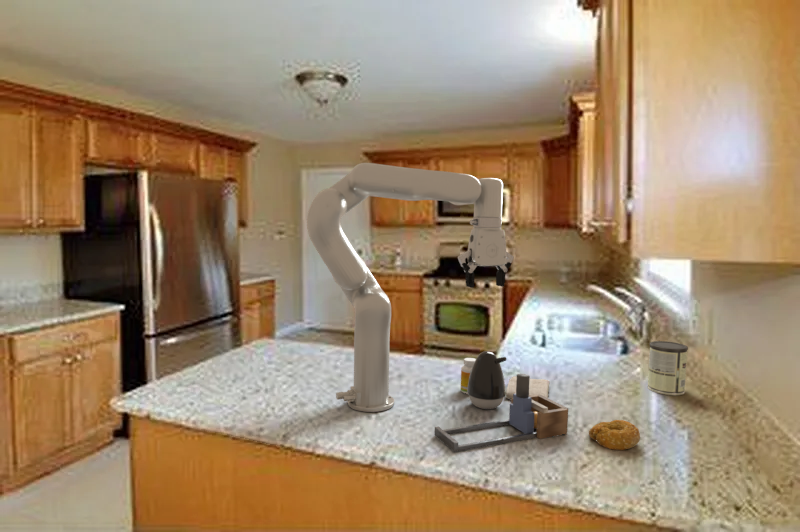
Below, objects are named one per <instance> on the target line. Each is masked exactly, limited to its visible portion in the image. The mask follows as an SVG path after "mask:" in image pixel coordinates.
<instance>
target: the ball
mask: <svg viewBox="0 0 800 532" xmlns="http://www.w3.org/2000/svg"><path fill="white" fill-rule="evenodd" d="M535 429H536V430H537V412H536V411H534V430H535Z"/></svg>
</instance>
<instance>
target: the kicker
mask: <svg viewBox="0 0 800 532" xmlns="http://www.w3.org/2000/svg"><path fill="white" fill-rule="evenodd" d="M516 376H517V382H516V394H513V403H512V404H511V403H509V411H508V413H509V415H508V416H509V417H508V419H509V424H510V425H511V426H512V427H514V428H515V429H517V430H519V431H520V432H522V434H526V433H531V432H535V431H534V430H535V428H534V412H532V411H530V410H531V403H532V398H531V397H529V380H530V378H531V377H530V375H529V374H526V373H517V374H516Z"/></svg>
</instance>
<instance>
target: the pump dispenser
mask: <svg viewBox="0 0 800 532" xmlns="http://www.w3.org/2000/svg"><path fill="white" fill-rule="evenodd" d="M475 359H476V360H475V362H474V364H473V367H472V370H471V373H470V376H469V381H468V388H467V393H468V394H467V395H468V398H469V400H470V403H472V405H473V406H475V407H477V409H482V410H494V409H496V408H498V407H499V406H500V405H501V404H502V403H503V400H504V397H506V383H505V378H504V376H505V375H504V373H503V368H502V365H501V363H503V362H506V361H507V357H506V356H502V357H497V355H496V354H495V353H494V352H492V351H488V350H484V351H482V352H480V353H479V354H478V355H477V357H476V358H475Z"/></svg>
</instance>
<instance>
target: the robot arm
mask: <svg viewBox="0 0 800 532" xmlns="http://www.w3.org/2000/svg"><path fill="white" fill-rule="evenodd" d="M503 192H504V183H503V180H501V179H499V178H494V177H484V178H483V177H481V178H477V177H475V176H473V175H471V174H467V173H460V172H454V171H453V172H451V171H443V170H431V169H423V168H415V167H414V168H412V167H405V166H404V167H403V166H395V165H388V164H379V163H374V162H361V163H358V164H356V165H354V167H353V168H352V169H351V171H349V173H348V174H347V175H345V176H344V177H342V178H341V179H340V180H338V181H337V182H335V183H334V184H333V185H332V186H330V187H329V188H324V189H322V190H321V191H319V192H318V193H317V194H316V195H315V196H314V198H313V199H312V201H311V204H310V206H309V208H308V212H307V215H306V229H307V234H308V236H309V239H310V241H311V242H312V245H313V246H314V248H315V250H316V252H317V254H318V255H319V256H320V258H321V260H322V261H323V262H324V264H325V266H326V268H327V269H328V270H329V272H330V274H331V275H332V276H331V277H332V278H333V280H334V282H335V283H336V285H338V287H340V289H341V290H342V292H343V293H344V295H345V296H346V298H347V299H348V301H349V303H350V304H351V305H352V307H353V308H354V328H353V329H354V330H353V331H354V333H353V336H354V337H353V338H354V339H353V349H354V351H353V355H354V356H353V385H351V386H350V387H349V388H350V389H347V391H337V392H335V398H336V400H339V401H340V400H343V402H347V406H348V407H349V408H351V409H352V410H355V411H359V412H367V413H373V412H374V413H375V412H384V411H386V410H389V409H391V408H392V407H394V405H395V399H394V397H392V396H391V395H390V394H389V391H390V389H389V387H390V386H389V385H390V342H391V341H390V338H391V337H390V335H391V334H390V333H391V321H392V304H391V301H390V298H389V296H388V294H386V293H385V291H384V290H383V288H381V286H380V284H379V282H378V281H377V279H376V278H375V277H374V275H373V274H372V272H371V271H370V269H369V267H368V266H367V263H366V262H365V260H364V259H363V258H362V257H361V256H360V255H359V254H358V253H357V251H356V250H355V248H354V246H353V245H352V243H351V242H350V240H349V238H348V237H347V236H346V235H347V234H346V233H345V232H344V231H343V228H342V223H341V219H342V217H344V216H345V215H347V214H348V213H349V212H351V211H352V210H353V209H354V208H356V207H358V206H359V205H360V204H361V203H363V201H366V199H368V197H376V198H377V197H378V198H384V199H393V200H401V201H412V202H414V201H415V202H416V201H442V202H449V203H450V204H452V205H454V206H464V205H473V217H472V218H473V219H470V220H469V224H470V225H472V228H471V230H470V233H469V234H470V235H469V239H468V247H467V250H466V251H465V252H463V253H461V254H460V255H458V256H457V260H458V262H459V265H460V267H461V268H462V270H463V271H464V273H465V287H467V288H471V289H473V288H474V287H475V277H476V276H475V275H476V274H475V273H474V271H475V270H476V268H477V267H496V269H497V271H496V274H495V275H496V277H495V285H496V286H497V287H505V283H506V273H507V272H508V270H509V268H510V267H511V265H512V263H513V261H514V257H515V256H514V255H512V254H511V253H509V252H508V251H507V240H506V233H505V229H502V219H503V218H502V216H503V195H504V194H503ZM466 259H467V263H466Z"/></svg>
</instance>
